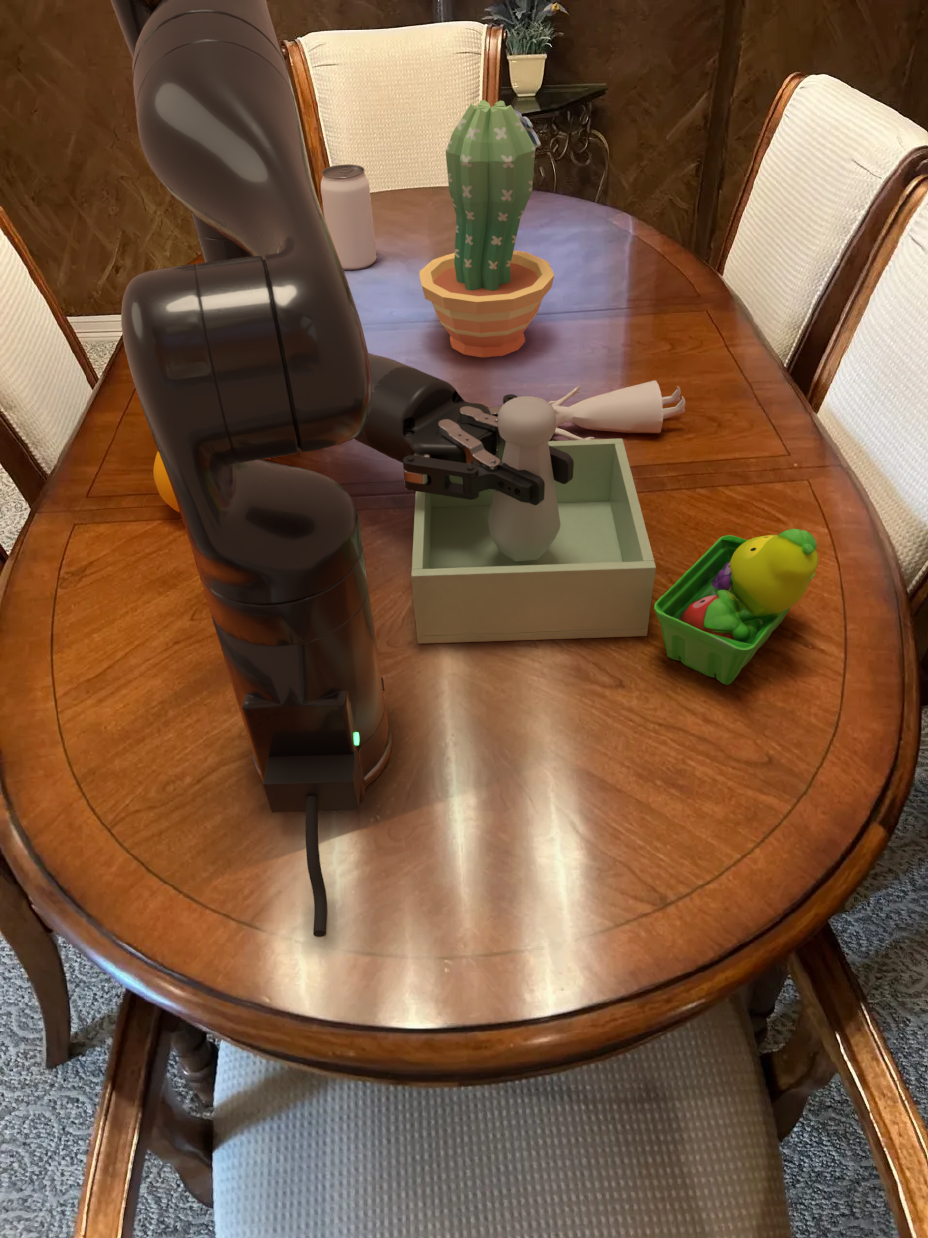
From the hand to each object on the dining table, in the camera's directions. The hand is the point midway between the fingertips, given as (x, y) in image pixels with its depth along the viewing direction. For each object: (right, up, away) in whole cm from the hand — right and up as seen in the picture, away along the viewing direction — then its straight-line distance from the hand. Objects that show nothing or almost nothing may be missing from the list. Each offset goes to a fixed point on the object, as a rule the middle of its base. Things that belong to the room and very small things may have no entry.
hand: (555, 481), depth 69 cm
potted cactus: (-4, +23, +40) cm, 46 cm away
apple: (-31, 0, +17) cm, 35 cm away
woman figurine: (+6, +9, +24) cm, 26 cm away
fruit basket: (+13, -12, +1) cm, 18 cm away
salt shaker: (-2, -4, +7) cm, 8 cm away
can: (-22, +40, +59) cm, 75 cm away
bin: (-2, -6, +8) cm, 10 cm away
